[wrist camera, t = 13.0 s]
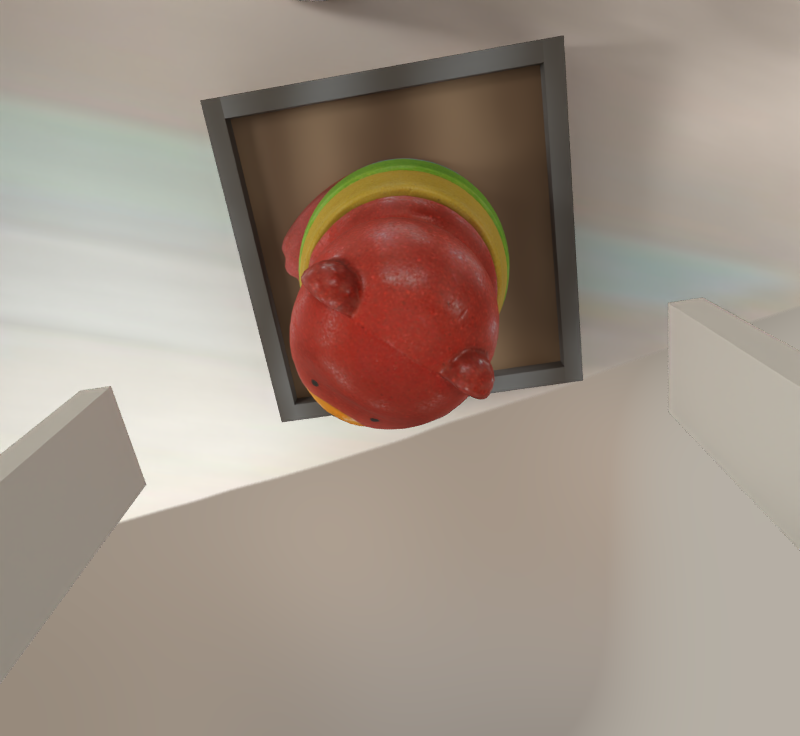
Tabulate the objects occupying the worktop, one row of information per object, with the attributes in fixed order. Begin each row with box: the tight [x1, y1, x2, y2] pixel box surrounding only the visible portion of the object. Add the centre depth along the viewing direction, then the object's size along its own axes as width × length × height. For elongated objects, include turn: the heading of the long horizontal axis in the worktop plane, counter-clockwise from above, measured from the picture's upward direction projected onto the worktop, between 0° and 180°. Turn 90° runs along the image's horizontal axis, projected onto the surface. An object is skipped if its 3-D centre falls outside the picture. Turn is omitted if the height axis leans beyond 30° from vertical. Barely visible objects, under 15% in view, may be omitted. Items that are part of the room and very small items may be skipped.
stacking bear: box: [282, 158, 510, 429], centre depth 25 cm, size 11×10×18 cm
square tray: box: [201, 35, 583, 422], centre depth 35 cm, size 18×18×5 cm
